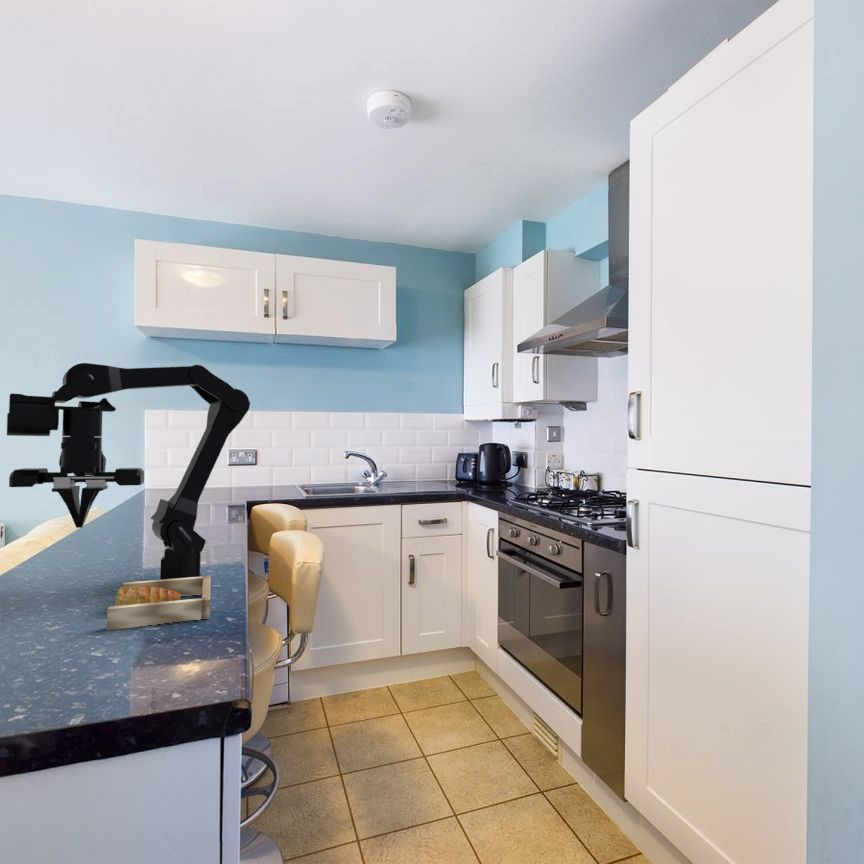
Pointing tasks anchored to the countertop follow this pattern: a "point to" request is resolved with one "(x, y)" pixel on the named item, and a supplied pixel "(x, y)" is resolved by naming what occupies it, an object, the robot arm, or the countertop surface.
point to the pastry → (144, 595)
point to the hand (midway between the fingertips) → (79, 527)
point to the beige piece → (164, 604)
